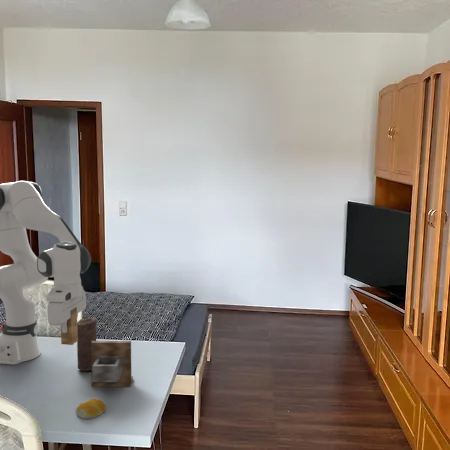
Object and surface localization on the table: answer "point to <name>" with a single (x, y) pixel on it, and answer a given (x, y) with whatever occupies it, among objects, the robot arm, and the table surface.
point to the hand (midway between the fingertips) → (69, 329)
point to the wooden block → (70, 330)
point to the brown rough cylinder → (85, 342)
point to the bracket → (111, 364)
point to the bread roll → (90, 408)
